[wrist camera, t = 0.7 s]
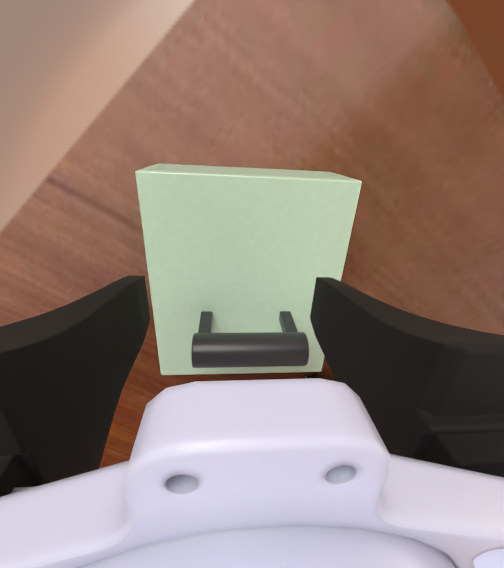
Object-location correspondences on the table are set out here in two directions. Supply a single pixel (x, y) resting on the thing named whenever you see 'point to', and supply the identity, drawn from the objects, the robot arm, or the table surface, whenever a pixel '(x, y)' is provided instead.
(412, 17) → the table surface
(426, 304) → the table surface
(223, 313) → the lid
